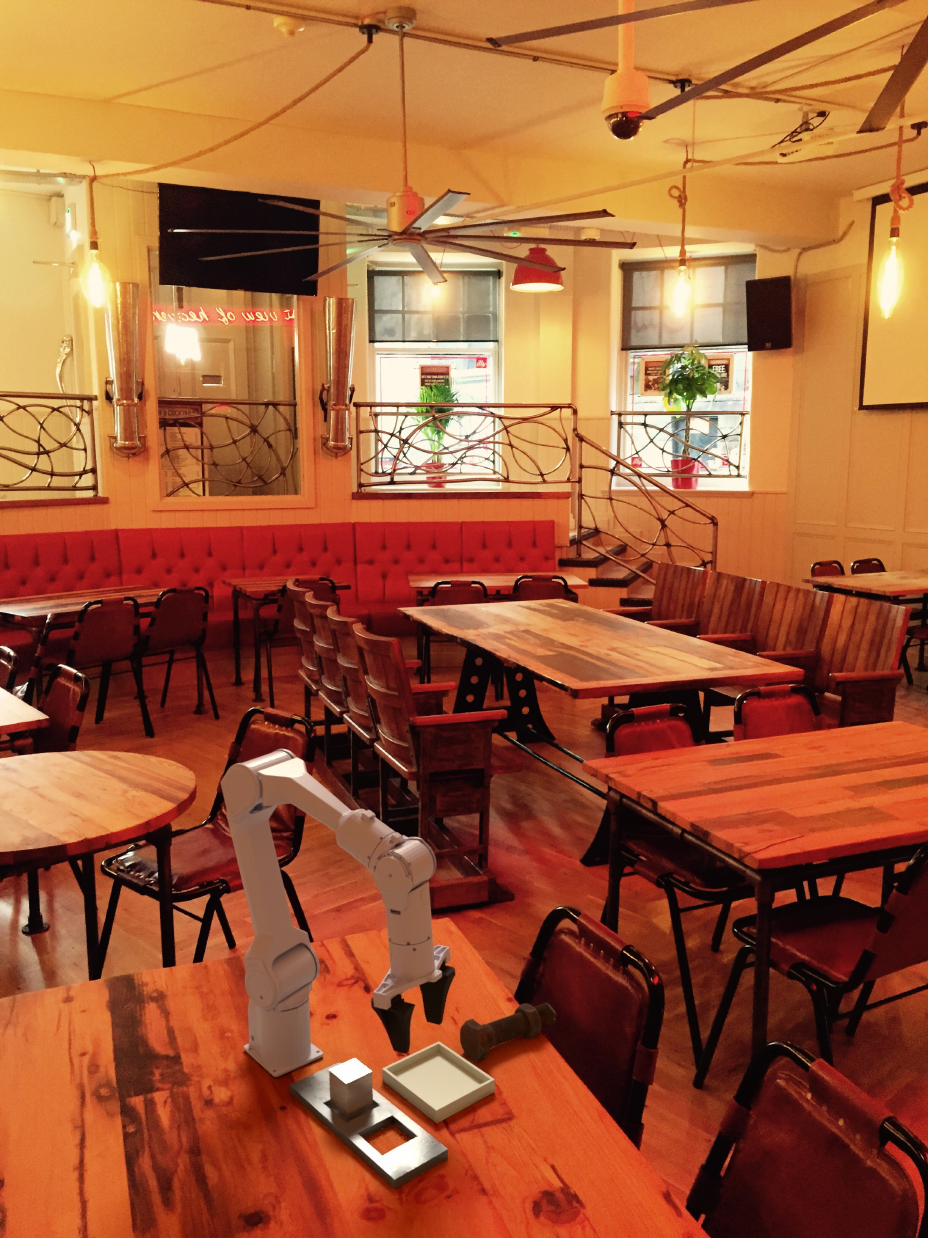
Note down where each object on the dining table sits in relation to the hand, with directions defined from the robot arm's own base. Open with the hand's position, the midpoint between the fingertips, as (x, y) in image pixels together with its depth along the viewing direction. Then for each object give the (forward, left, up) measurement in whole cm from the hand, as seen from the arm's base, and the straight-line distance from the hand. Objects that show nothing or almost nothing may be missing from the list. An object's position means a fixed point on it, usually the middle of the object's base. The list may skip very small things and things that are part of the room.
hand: (418, 1036), depth 127 cm
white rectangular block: (-5, -7, -10) cm, 14 cm away
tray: (-2, +5, -10) cm, 11 cm away
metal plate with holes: (-2, -7, -10) cm, 13 cm away
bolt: (-4, +20, -11) cm, 23 cm away
